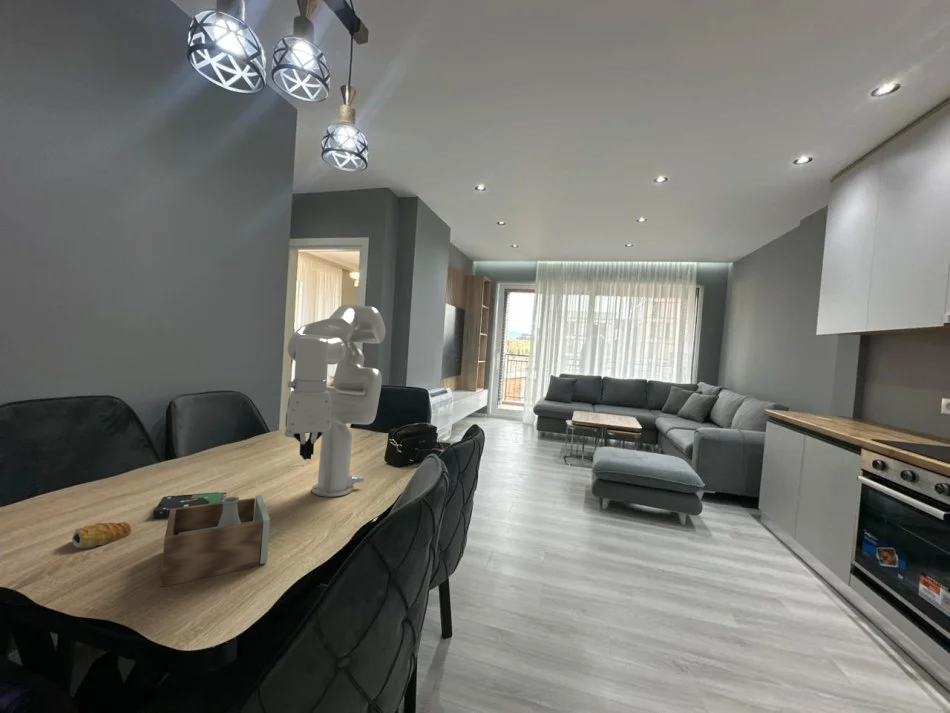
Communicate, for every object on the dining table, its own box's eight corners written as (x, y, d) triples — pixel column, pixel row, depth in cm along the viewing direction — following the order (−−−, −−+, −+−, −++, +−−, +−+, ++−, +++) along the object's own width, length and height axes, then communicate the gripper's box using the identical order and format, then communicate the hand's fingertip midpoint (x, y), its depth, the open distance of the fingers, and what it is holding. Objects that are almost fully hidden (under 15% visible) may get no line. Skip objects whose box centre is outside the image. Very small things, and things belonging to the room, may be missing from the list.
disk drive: (152, 522, 97) (222, 514, 104) (152, 511, 97) (223, 503, 104) (162, 506, 106) (226, 499, 113) (162, 496, 106) (226, 490, 113)
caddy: (251, 535, 93) (254, 498, 93) (258, 565, 81) (262, 523, 81) (167, 550, 84) (170, 508, 84) (160, 587, 71) (164, 538, 71)
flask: (218, 536, 87) (222, 492, 87) (252, 537, 88) (255, 493, 88) (199, 553, 80) (203, 505, 80) (236, 554, 81) (239, 506, 81)
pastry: (124, 528, 92) (125, 512, 92) (136, 537, 88) (137, 520, 88) (68, 543, 84) (69, 526, 84) (79, 553, 80) (80, 535, 80)
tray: (258, 532, 94) (261, 495, 94) (266, 562, 81) (270, 519, 81) (177, 546, 85) (181, 505, 85) (173, 582, 72) (177, 534, 72)
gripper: (280, 389, 89) (275, 466, 90) (345, 388, 98) (340, 459, 99) (274, 384, 95) (271, 456, 96) (336, 383, 104) (332, 450, 105)
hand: (306, 457), depth 98 cm, fingers closed
